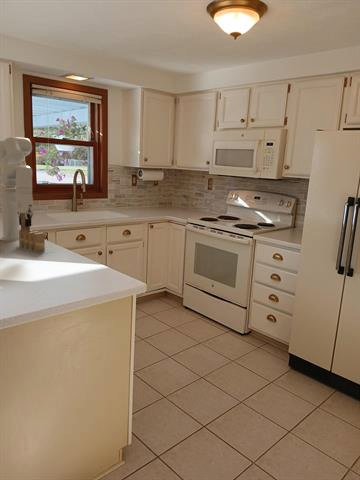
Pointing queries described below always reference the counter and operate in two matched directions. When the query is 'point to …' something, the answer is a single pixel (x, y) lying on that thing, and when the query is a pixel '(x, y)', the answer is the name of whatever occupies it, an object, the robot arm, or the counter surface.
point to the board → (36, 252)
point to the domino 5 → (39, 242)
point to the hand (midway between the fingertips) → (25, 225)
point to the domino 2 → (23, 227)
